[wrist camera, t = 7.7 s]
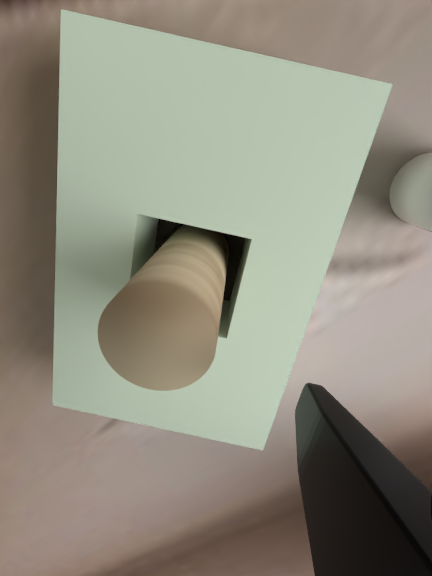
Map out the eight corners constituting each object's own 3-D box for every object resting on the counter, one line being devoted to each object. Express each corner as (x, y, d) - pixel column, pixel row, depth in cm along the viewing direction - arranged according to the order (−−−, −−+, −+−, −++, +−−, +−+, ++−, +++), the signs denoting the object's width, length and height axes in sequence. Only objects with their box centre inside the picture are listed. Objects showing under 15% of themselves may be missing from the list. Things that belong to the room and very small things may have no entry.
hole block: (259, 396, 22) (263, 450, 18) (87, 359, 22) (52, 405, 18) (352, 103, 16) (392, 83, 12) (108, 49, 16) (60, 9, 12)
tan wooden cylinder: (221, 288, 20) (203, 401, 10) (163, 274, 20) (93, 377, 10) (235, 229, 18) (228, 301, 9) (172, 215, 18) (101, 273, 9)
